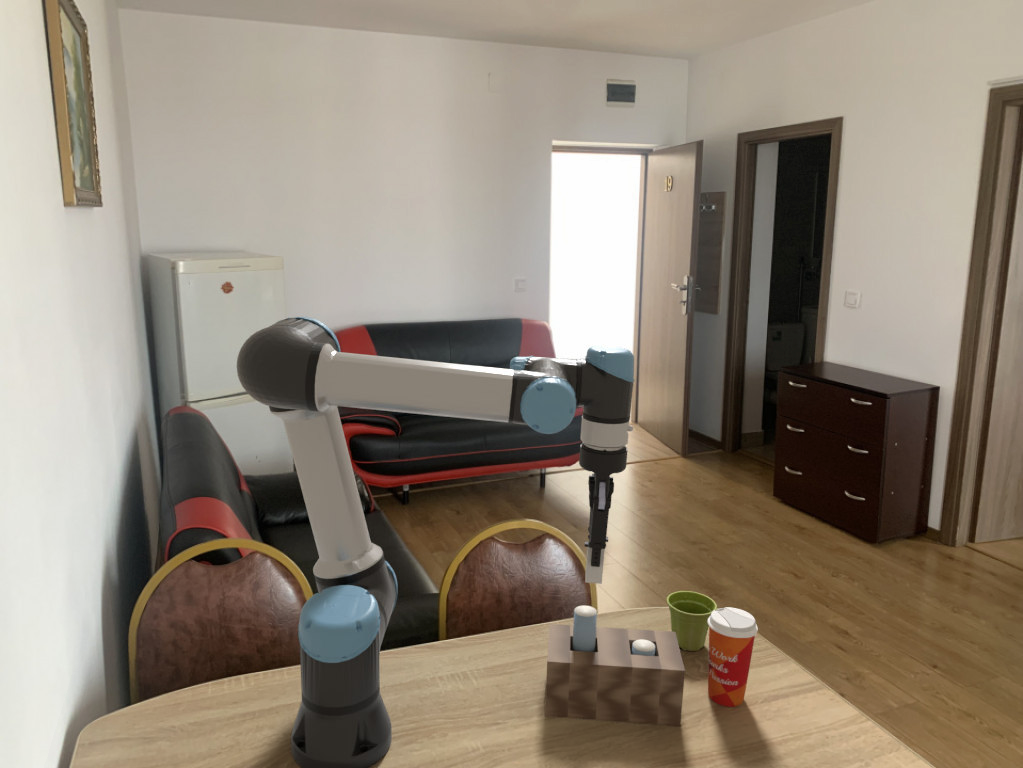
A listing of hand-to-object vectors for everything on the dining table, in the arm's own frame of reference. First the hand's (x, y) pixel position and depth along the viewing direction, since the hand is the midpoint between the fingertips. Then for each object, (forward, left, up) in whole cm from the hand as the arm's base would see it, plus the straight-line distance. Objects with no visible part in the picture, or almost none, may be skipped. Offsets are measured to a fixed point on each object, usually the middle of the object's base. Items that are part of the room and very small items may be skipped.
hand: (593, 580), depth 128 cm
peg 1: (-1, 0, -16) cm, 16 cm away
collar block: (+4, 0, -22) cm, 22 cm away
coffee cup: (+24, +3, -22) cm, 33 cm away
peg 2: (+9, 0, -21) cm, 23 cm away
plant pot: (+20, +20, -22) cm, 36 cm away
